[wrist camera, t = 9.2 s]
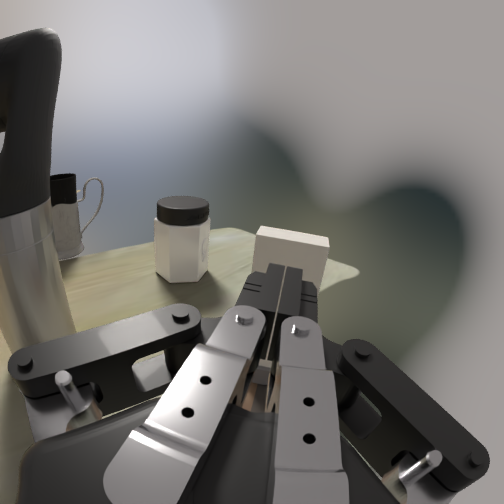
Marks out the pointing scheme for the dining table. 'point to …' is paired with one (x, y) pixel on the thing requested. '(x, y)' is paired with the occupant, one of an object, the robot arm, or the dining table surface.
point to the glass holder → (67, 214)
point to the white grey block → (293, 255)
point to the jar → (181, 238)
